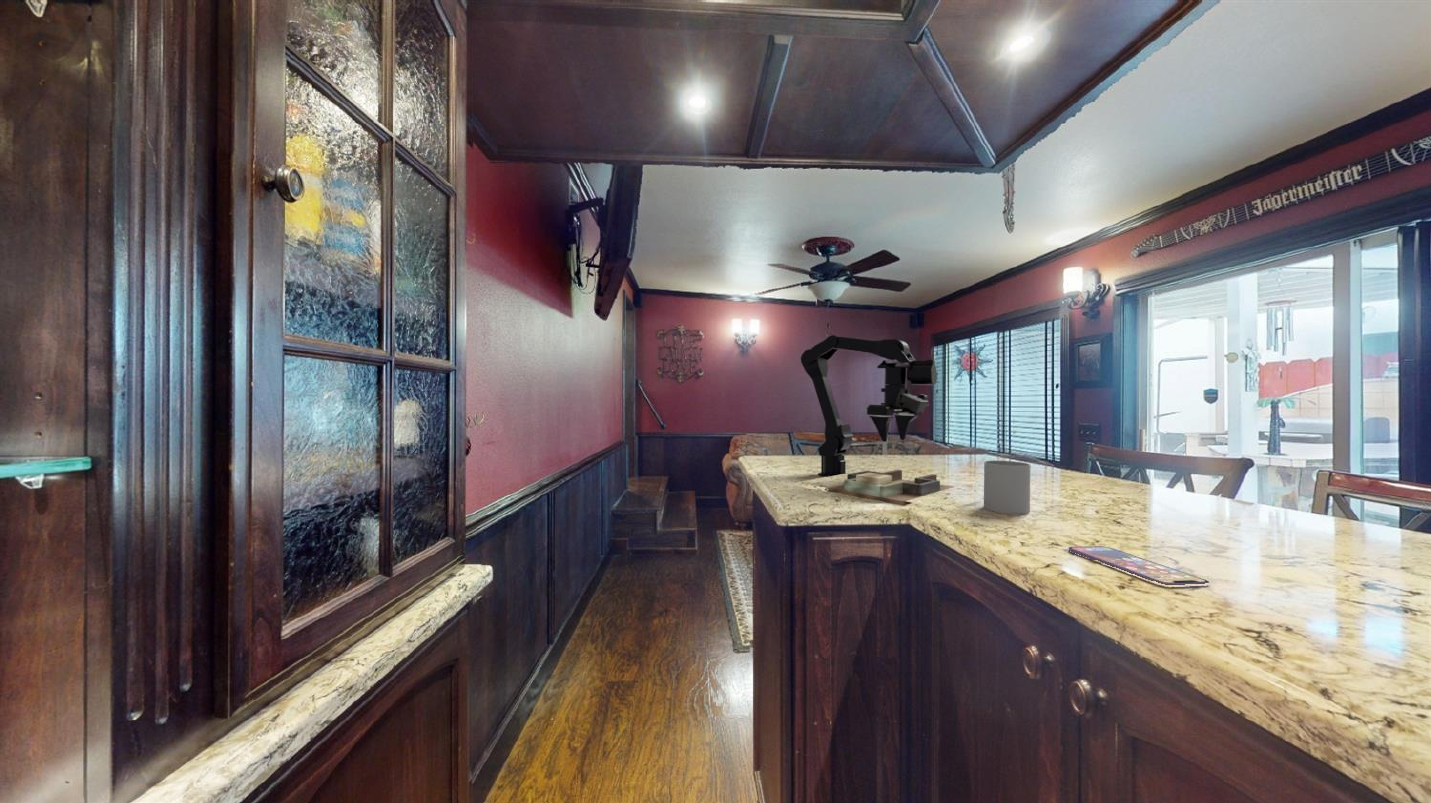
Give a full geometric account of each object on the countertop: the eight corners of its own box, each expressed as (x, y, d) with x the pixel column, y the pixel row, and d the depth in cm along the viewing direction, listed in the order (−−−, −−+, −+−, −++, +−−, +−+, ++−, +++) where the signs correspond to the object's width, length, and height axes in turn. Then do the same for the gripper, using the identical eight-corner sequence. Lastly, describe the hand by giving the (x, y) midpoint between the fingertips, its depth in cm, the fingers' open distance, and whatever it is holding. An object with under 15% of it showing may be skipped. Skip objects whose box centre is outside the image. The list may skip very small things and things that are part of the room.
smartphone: (1105, 551, 77) (1214, 589, 62) (1064, 552, 76) (1164, 591, 61) (1105, 545, 77) (1214, 582, 62) (1064, 546, 76) (1164, 583, 61)
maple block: (855, 491, 116) (856, 475, 116) (869, 488, 120) (869, 472, 120) (878, 495, 112) (878, 478, 112) (891, 492, 116) (891, 475, 116)
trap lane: (828, 491, 121) (828, 477, 121) (882, 479, 138) (882, 467, 138) (903, 505, 106) (903, 489, 106) (954, 490, 123) (954, 477, 123)
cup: (1017, 505, 106) (1017, 460, 106) (1038, 515, 98) (1038, 466, 98) (977, 504, 107) (977, 460, 107) (994, 514, 99) (995, 465, 99)
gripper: (904, 384, 122) (902, 445, 122) (940, 385, 133) (938, 441, 134) (866, 384, 130) (864, 441, 131) (903, 385, 142) (901, 438, 142)
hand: (893, 440), depth 134 cm, fingers open, 9 cm apart
